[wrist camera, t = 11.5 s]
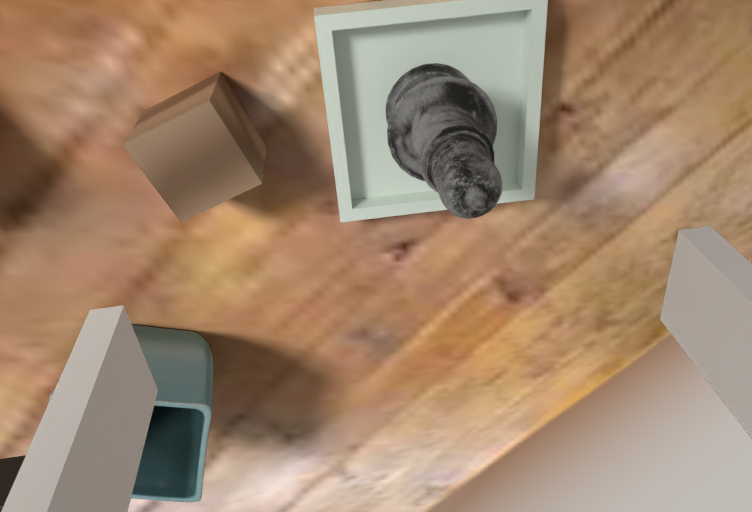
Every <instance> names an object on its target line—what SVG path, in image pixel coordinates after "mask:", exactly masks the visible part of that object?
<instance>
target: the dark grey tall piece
mask: <svg viewBox="0 0 752 512" xmlns="http://www.w3.org/2000/svg"><path fill="white" fill-rule="evenodd" d="M385 109H386V121H387V124H388V128H387V137H388V146H389V149H390V151H391V154H392V157H393V159H394V160H395V161H396V163H397V164H398V166H399V167H400V168H401V169H402V170H404V171H405V172H406V173H407V174H409V175H410V176H412V177H414V178H417V179H419V180H421V181H426V183H427V184H428V186H429V187H431V188H432V189H433V190H434V191H436V192H438V194H439V196H440V199H441V201H442V203H443V204H444V206H445V207H446V208H447V209H448V210H449V211H450V212H451V213H453V214H454V215H456V216H458V217H461V218H476V217H479V216H482V215H484V214H486V213H487V212H489V211H490V210H491V209H492V208H493V207H494V206H495V205H496V204H497V202H498V201H499V199H500V196H501V193H502V179H501V175H500V172H499V171H498V169H497V167H496V166H495V164H494V155H495V154H494V150H493V144H494V141H495V138H496V135H497V116H496V112H495V108H494V106H493V104H492V102H491V100H490V99H489V97H488V95H487V94H486V93H485V92H484V91H483V90H482V89H481V88H480V87H478V86H477V85H476V84H474V83H472V82H470V81H469V80H468V78H467V77H465V76H464V75H463V74H462V73H461V72H460V71H459V70H457V69H455V68H453V67H451V66H449V65H444V64H439V63H433V64H424V65H421V66H418V67H415V68H413V69H411V70H410V71H408V72H407V73H405V74H404V75H402V76H401V77H400V78H399V80H398V81H397V82H396V83H395V84H394V85H393V87H392V89H391V91H390V93H389V95H388V98H387V103H386V108H385Z"/></svg>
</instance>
